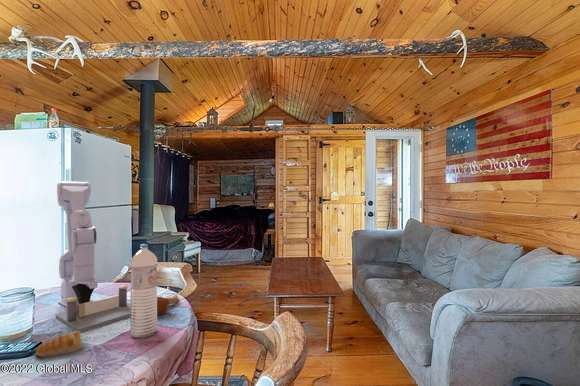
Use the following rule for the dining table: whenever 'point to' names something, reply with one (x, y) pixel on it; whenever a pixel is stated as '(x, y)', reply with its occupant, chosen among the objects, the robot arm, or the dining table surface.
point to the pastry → (61, 345)
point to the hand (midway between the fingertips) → (83, 306)
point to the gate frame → (95, 318)
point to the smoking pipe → (164, 304)
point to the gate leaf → (97, 305)
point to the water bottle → (143, 293)
